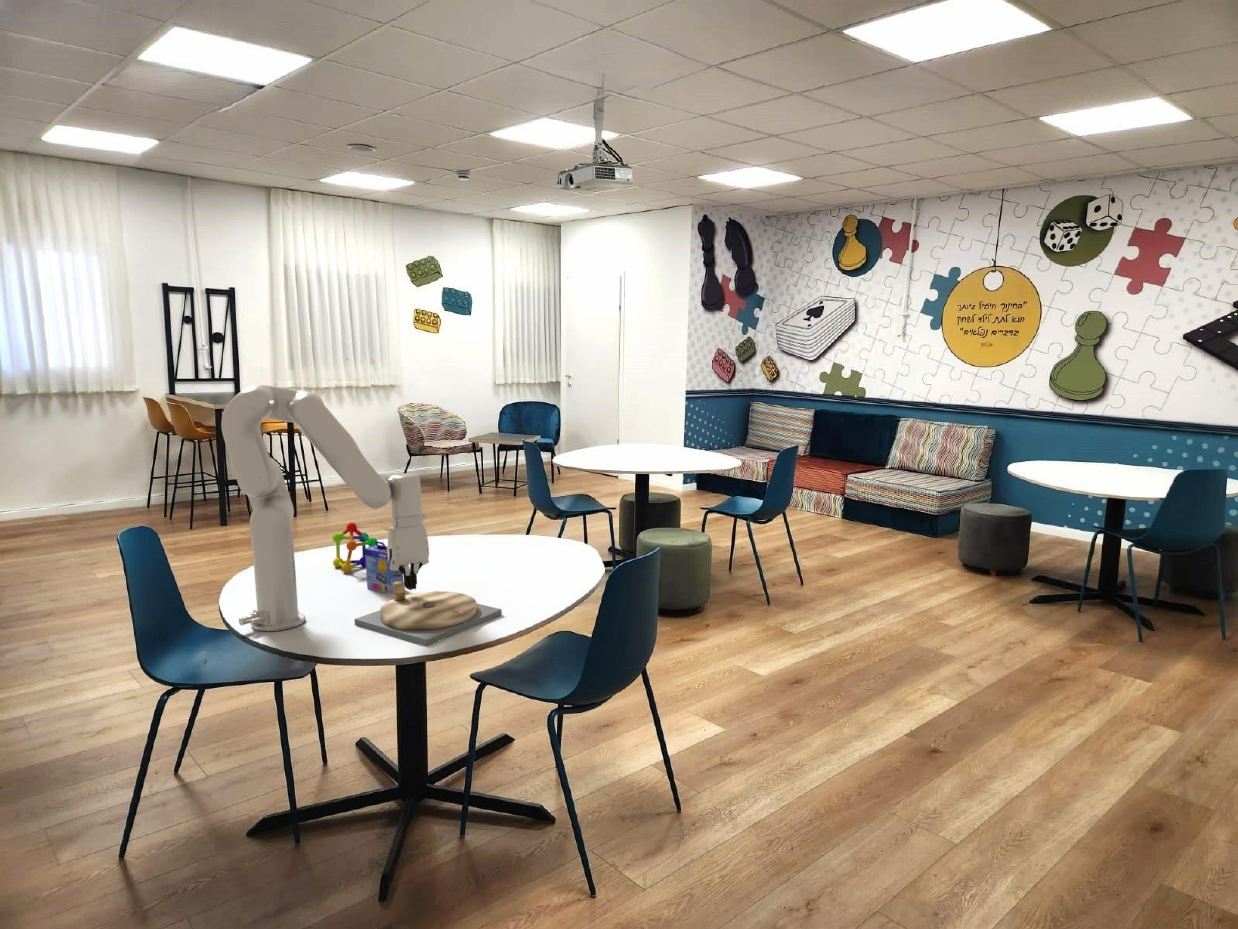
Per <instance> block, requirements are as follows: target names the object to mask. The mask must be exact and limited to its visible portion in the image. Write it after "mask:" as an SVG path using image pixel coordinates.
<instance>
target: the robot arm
mask: <svg viewBox="0 0 1238 929" xmlns="http://www.w3.org/2000/svg"><path fill="white" fill-rule="evenodd" d="M264 420H274V421H279V422H280V421H281V422H287V423H293V424H294V425H295V427H296V428H297V429H298V430H299V431H300V432H301V434H302V435H303V436H304V437H306V439H307V441H309V442H310V443H311V444H312V446H313V447H314V448H315V449H316V451H318V453H319V454H320V455H321V456H322V457H323V458H324V459H325V461H326V463H327V464H328V465H329V467H331V468H332V469H333V471H335V473H337V475H338V476H339V477H340V478H341V480H342V481H343V482H344V483H345V484H346V486H347V487H348V488H349V489H350V490H351V492H353V494H354V495H356V497H357V498H358V499H359V501H360V502H362V504H363V505H365V506H367V507H368V508H370V509H381V508H384V507H385V506H387V505H388V503H389V502H391V516H392V517H391V519H392V526H389V530H388V536H387V557H388V562H390V569H391V570H393V571H400V572H401V573H402V574H403V582H405V589H407V590H409V591H412V590H417V586H418V576H417V575H418V574H419V571H420V569H421V568H422V567H423V566H425V565H427V564H429V563H430V560H429V558H430V546H429V545H430V544H429V538H428V532H427V530H426V526H425V524H424V522H423V521H424V519H427V514H426V513H423V511H422V509H423V508H422V491H421V478H420V476H419V475H418V474H417V473H406V472H405V473H396V474H385V473H384V474H383V473H378V472H377V471H376V470H375V468H374V467H373V466H372V465H371V464H370V463H369V461H368V459H366V456H364V455H363V453H362V451H361V449H360V448H359V445H358V444H357V442H356V441H355V439H354V438H353V436H352V435H351V434H350V433H349V432H348V430H347V429H346V428H344V426H343V425H342V424H341V423H340V422H339V420H338V419H337V418H336V417H335V416H334V414H333V413H332V412H331V411H330V410H329V409H328V407H326V405H325V403H324V401H323V399H322V398H321V397H320V396H319V395H318V394H316V393H314V392H312V391H303V390H297V389H291V388H284V387H277V386H273V385H272V386H271V385H265V384H253V385H249V386H247V387H246V388H244V389H242V390H240V392H238V393H237V394H236V395H235V396H234V397H233V398H232V399H231V400H230V401H229V402H228V403H227V405H226V406H225V408H224V410H223V413H222V416H221V423H220V425H221V432H222V437H223V440H224V443H225V446H226V449H227V452H228V457H229V459H230V462H231V465H232V468H233V469H232V470H233V471H234V474H235V476H236V482H237V485H238V487H239V489H240V490H241V492H242V493H243V494H245V495H246V496H247V498H248V500H249V503H250V505H251V508H252V511H251V514H250V517H249V535H250V541H251V548H252V560H253V570H254V573H253V574H254V583H255V586H254V587H255V595H256V596H255V597H256V599H255V600H256V607H255V608H253V609H252V612H251V613H250V615H246V616H242V617H239V619H238V623H239V625H240V626H245V625H248V624H250V625H251V628H252V629H254V630H256V631H260V632H277V631H278V632H279V631H284V630H288V629H293V628H295V627H298V626H300V625H302V624H303V623H304V622H305V621H306V614H304V613H303V612H301V611H299V603H298V588H297V576H296V559H295V548H294V547H295V546H294V536H293V534H294V533H293V520H294V514H295V510H294V509H295V507H294V505H293V502H292V498H291V495H290V493H289V489H288V487H287V484H286V481H285V478H284V475H283V473H282V470H281V468H280V466H279V464H278V462H277V461H276V460H275V459H274V458H272V457H270V454H269V451H268V449H267V445H266V441H265V439H264V437H263V435H262V431H261V425H262V422H263V421H264Z"/></svg>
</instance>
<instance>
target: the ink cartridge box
mask: <svg viewBox="0 0 1238 929" xmlns="http://www.w3.org/2000/svg"><path fill="white" fill-rule="evenodd" d="M374 542H375V544H376V545H375V546H371V547H369V546H368V547H366V548H365V559H366V566H365V572H366V573H365V574H366V586H367V588H366V589H368V590H373V591H376V592H380V593H384V594H389V595H391V594H393V583H394V582H398V581H403V582H404V575H403V574H402V573H401V572H400V571H393V570H391V569H390V562H388V557H387V547H388V545H386V544H385V543H384V542H382V541H378V540H377V541H374Z"/></svg>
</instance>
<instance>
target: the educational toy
mask: <svg viewBox="0 0 1238 929" xmlns="http://www.w3.org/2000/svg"><path fill="white" fill-rule="evenodd" d="M348 533H349V535H346V534H348ZM354 533H355V534H356V535H354ZM343 540H348V542H346V545H345V546H346V549H347V550H348V552H347V558H346V560H343V558H342V557H341V554H340V553H341V550H340V545H341V544H340V543H341V542H342V541H343ZM355 540H359V542H356V541H355ZM332 541H333V542H335V545H336V547H335V548H336V551H335V552H336V558H334V560H333V561H332V563H333V566H334V567H335V568H341V571H342V572H343V573H345V574H349V573H350V572H351V571H352V570H353V568H356V567H358V566H362V567H366V559H365V548H367V547H366V546H368V547H371V546H375V545H376V544H375V542H374V541H378V539H377V538H376V537H372V536H371V537H369V534H368V533H366V532H362V531H360V530H359V529H358V526H357V524H356V523H355V522H349V523H347V525H346V529H345V530H344V531H342V532H335V533H334V534H333V535H332ZM358 547H361V550H362V552H361V553H362V557H360V558H359V559H352V554H353V551H355V550H356V549H357V548H358ZM351 559H352V560H351Z"/></svg>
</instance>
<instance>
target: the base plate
mask: <svg viewBox="0 0 1238 929" xmlns="http://www.w3.org/2000/svg"><path fill="white" fill-rule="evenodd" d="M476 606H477V612H476V614H475V615H474V616H473V617H472V618H471V619H469V620H467V621H465V622H463V623H460V624H457V625H453V626H449V627H444V628H438V629H429V630H406V629H399V628H394V627H391V626H388V625H386V624H384V623H383V622H382V621H381V616H380V609H379V610H376V611H373V612H371V613H367V614H365V615H362V616H359V617H357V618H354V626H358V627H361V628H365V629H368V630H372V631H375V632H378V633H382V634H385V635H389V636H392V637H395V638H399V639H401V640H402V639H403V640H406V641H409V642H411V641H412V642H413V643H415V644H418V643H420V644H419V645H422V644H423V645H422V646H426V647H428V646H431V645H432V643H433V644H435V643H438V642H440V641H442V640H445V639H447V638H450V637H452V636H454V634H455V635H457V634H459V633H461V631H462V632H463V630H464V631H466V630H469V629H471V628H473V627H472V626H474V627H476V626H479V625H480V623H481V624H483V623H486V622H488V621H490V619H491V620H492V619H495V617H496V618H497V616H498V617H500V616H502V615H503V614H502V609H501V608H498V607H493V606H489V605H486V604H485V605H484V604H481V603H477V602H476ZM478 624H479V625H478ZM470 627H471V628H470ZM456 633H457V634H456ZM439 640H440V641H439Z"/></svg>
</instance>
